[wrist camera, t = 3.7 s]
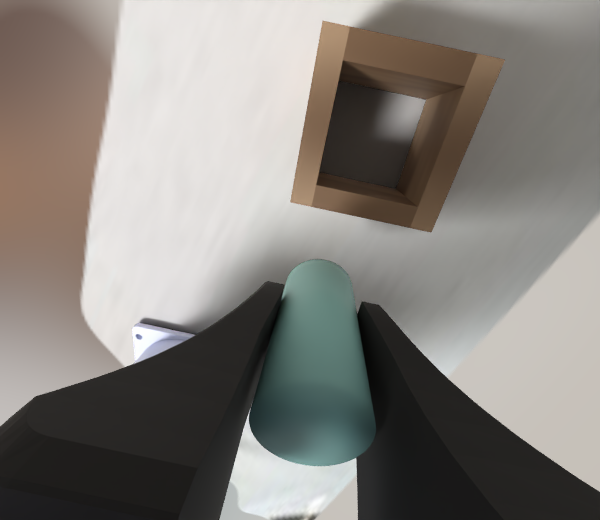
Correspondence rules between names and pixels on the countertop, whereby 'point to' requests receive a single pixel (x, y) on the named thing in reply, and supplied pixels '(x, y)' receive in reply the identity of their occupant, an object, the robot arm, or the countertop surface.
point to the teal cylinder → (315, 373)
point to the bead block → (428, 136)
